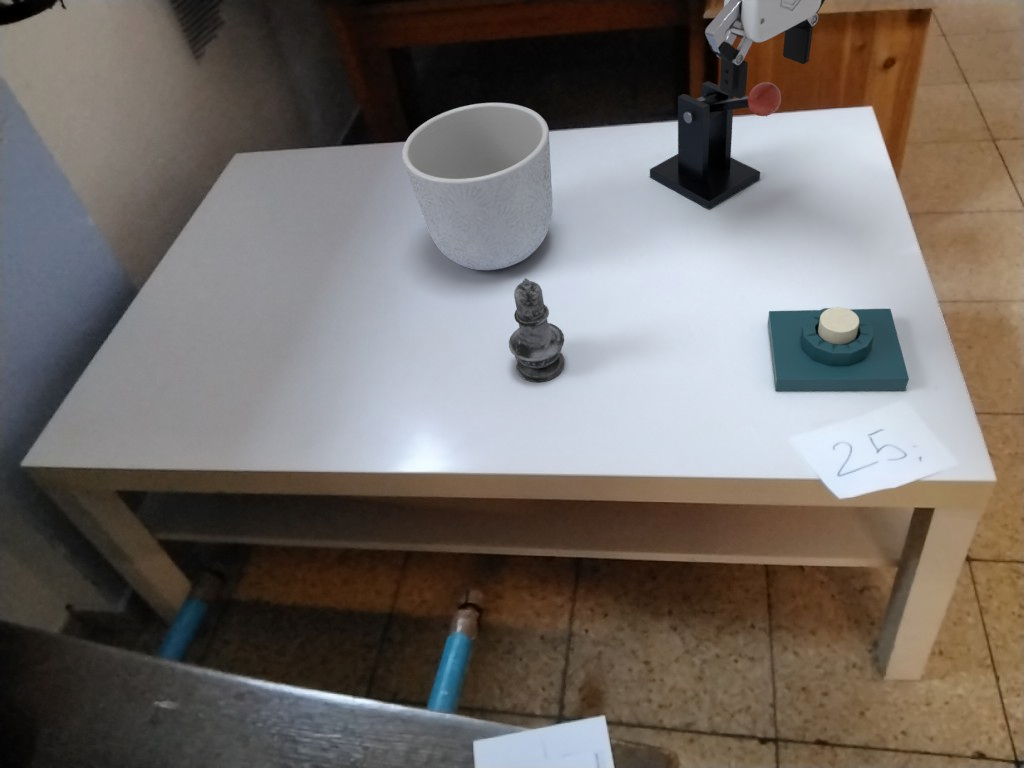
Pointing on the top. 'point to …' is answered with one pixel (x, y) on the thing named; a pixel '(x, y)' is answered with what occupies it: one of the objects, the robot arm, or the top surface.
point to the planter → (483, 182)
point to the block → (836, 354)
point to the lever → (747, 101)
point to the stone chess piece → (535, 336)
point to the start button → (838, 326)
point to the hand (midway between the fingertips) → (764, 76)
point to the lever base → (704, 154)
